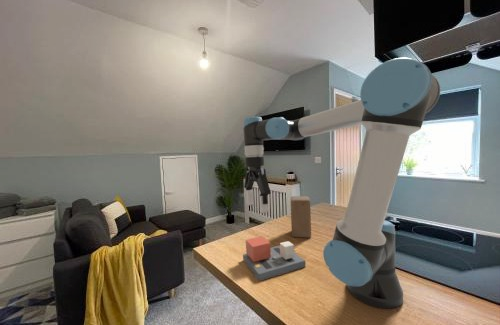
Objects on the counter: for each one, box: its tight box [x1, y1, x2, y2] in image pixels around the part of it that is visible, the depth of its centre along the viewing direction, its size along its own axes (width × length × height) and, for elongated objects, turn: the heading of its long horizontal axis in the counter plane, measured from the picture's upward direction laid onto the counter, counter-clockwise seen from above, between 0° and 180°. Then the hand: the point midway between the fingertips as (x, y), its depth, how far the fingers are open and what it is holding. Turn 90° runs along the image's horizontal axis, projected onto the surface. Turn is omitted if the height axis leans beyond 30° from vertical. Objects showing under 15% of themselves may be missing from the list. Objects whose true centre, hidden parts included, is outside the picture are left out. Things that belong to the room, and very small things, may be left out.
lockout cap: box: [245, 236, 271, 262], centre depth 85 cm, size 8×8×6 cm
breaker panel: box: [242, 245, 306, 282], centre depth 84 cm, size 16×20×3 cm
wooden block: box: [290, 195, 312, 239], centre depth 112 cm, size 10×10×20 cm
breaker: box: [279, 240, 295, 259], centre depth 83 cm, size 4×4×5 cm
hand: (256, 208), depth 85 cm, fingers open, 13 cm apart
